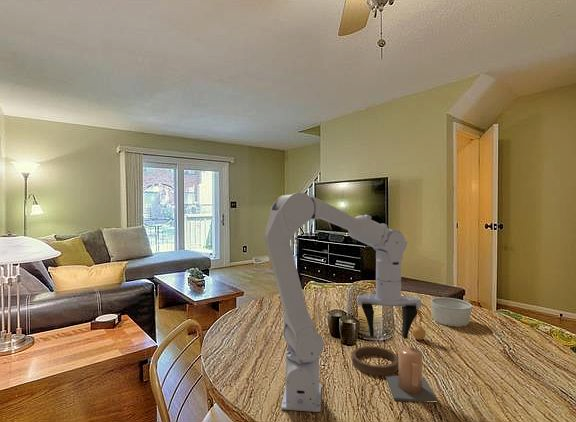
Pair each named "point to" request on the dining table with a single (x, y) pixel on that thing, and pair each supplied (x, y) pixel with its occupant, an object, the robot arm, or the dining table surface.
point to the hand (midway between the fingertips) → (388, 336)
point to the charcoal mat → (404, 396)
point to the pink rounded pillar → (410, 370)
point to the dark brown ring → (374, 368)
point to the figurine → (418, 330)
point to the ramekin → (451, 311)
